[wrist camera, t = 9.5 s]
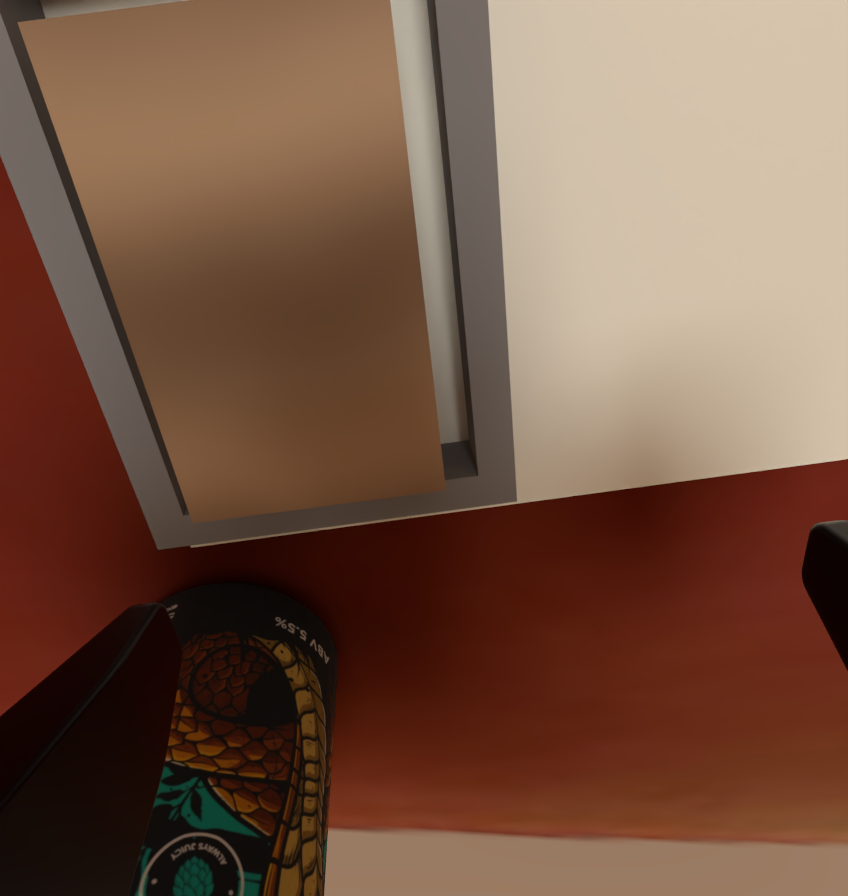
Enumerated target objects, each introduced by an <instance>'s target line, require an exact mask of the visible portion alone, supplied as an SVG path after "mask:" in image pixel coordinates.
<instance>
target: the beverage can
mask: <svg viewBox="0 0 848 896" xmlns="http://www.w3.org/2000/svg"><path fill="white" fill-rule="evenodd" d="M160 603H161V604H163V605H164V607H165V608H166V610H167V612H168V614H169V617H170V619H171V622H172V624H173V627H174V629H175V632H176V634H177V637H178V639H179V642H180V645H181V649H182V664H181V670H180V676H179V682H178V688H177V694H176V700H175V706H174V713H173V719H172V725H171V731H170V737H169V743H168V749H167V754H166V760H165V765H164V769H163V773H162V777H161V781H160V785H159V788H158V792H157V795H156V799H155V803H154V806H153V810H152V813H151V817H150V821H149V824H148V828H147V831H146V835H145V839H144V842H143V846H142V849H141V853H140V857H139V860H138V864H137V867H136V871H135V875H134V878H133V882H132V885H131V889H130V892H129V896H324V884H325V867H326V851H327V834H328V818H329V801H330V784H331V768H332V751H333V734H334V718H335V701H336V685H337V668H338V664H337V651H336V648H335V645H334V642H333V640H332V637H331V635H330V633H329V632H328V630H327V629H326V627H325V626H324V625H323V623H322V622H321V620H320V619H319V618H318V617H317V616H316V615H314V614H313V613H312V612H311V611H310V610H309V609H308V608H307V607H305V606H304V605H302V604H300V603H299V602H297V601H295V600H294V599H292V598H290V597H289V596H287V595H285V594H284V593H281V592H278V591H276V590H273V589H271V588H268V587H265V586H260V585H255V584H250V583H238V582H225V583H216V584H209V585H201V586H198V587H194V588H191V589H187V590H184V591H181V592H179V593H177V594H175V595H173V596H171V597H169V598H167V599H165V600H163V601H162V602H160Z"/></svg>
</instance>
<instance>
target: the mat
mask: <svg viewBox="0 0 848 896" xmlns="http://www.w3.org/2000/svg"><path fill="white" fill-rule="evenodd" d="M179 1H187V0H0V156H1V158H2V161H3V163H4V166H5V168H6V171H7V173H8V176H9V178H10V181H11V183H12V186H13V188H14V191H15V193H16V196H17V198H18V201H19V203H20V206H21V208H22V211H23V213H24V216H25V218H26V221H27V223H28V226H29V228H30V231H31V233H32V236H33V238H34V241H35V243H36V246H37V248H38V251H39V253H40V256H41V258H42V261H43V263H44V266H45V268H46V271H47V273H48V276H49V278H50V281H51V283H52V286H53V288H54V291H55V293H56V296H57V298H58V301H59V303H60V306H61V308H62V311H63V313H64V316H65V318H66V321H67V323H68V326H69V328H70V331H71V333H72V336H73V338H74V341H75V343H76V346H77V348H78V351H79V353H80V356H81V358H82V361H83V363H84V366H85V368H86V371H87V373H88V376H89V378H90V381H91V383H92V386H93V388H94V391H95V393H96V396H97V398H98V401H99V403H100V406H101V408H102V411H103V413H104V416H105V418H106V421H107V423H108V426H109V428H110V431H111V433H112V436H113V438H114V441H115V443H116V446H117V448H118V451H119V453H120V456H121V458H122V461H123V463H124V466H125V468H126V471H127V473H128V476H129V478H130V481H131V483H132V486H133V488H134V491H135V493H136V496H137V498H138V501H139V503H140V506H141V508H142V511H143V513H144V516H145V518H146V521H147V523H148V526H149V528H150V531H151V533H152V536H153V538H154V541H155V543H156V546H157V548H158V550H162V549H169V548H177V547H184V546H191V548H193V547H201V546H208V545H216V544H223V543H230V542H238V541H245V540H253V539H260V538H267V537H275V536H282V535H290V534H297V533H304V532H312V531H319V530H327V529H334V528H341V527H349V526H356V525H364V524H371V523H378V522H386V521H393V520H401V519H408V518H415V517H423V516H430V515H437V514H445V513H452V512H460V511H467V510H474V509H482V508H489V507H497V506H504V505H511V504H519V503H526V502H534V501H541V500H548V499H556V498H563V497H571V496H578V495H585V494H593V493H600V492H608V491H615V490H622V489H630V488H637V487H645V486H652V485H659V484H667V483H674V482H682V481H689V480H696V479H704V478H711V477H719V476H726V475H733V474H741V473H748V472H756V471H763V470H770V469H778V468H785V467H792V466H800V465H807V464H815V463H822V462H829V461H837V460H844V459H848V0H390V3H391V12H392V21H393V29H394V38H395V47H396V56H397V65H398V73H399V82H400V91H401V100H402V108H403V117H404V126H405V135H406V144H407V152H408V161H409V170H410V179H411V188H412V196H413V205H414V214H415V223H416V231H417V240H418V249H419V258H420V267H421V275H422V284H423V293H424V302H425V310H426V319H427V328H428V337H429V346H430V354H431V363H432V372H433V381H434V390H435V398H436V407H437V416H438V425H439V433H440V442H441V451H442V460H443V469H444V477H445V486H446V490H445V491H437V492H430V493H422V494H414V495H406V496H399V497H391V498H383V499H376V500H368V501H360V502H353V503H345V504H337V505H330V506H322V507H314V508H306V509H299V510H291V511H283V512H276V513H268V514H260V515H253V516H245V517H237V518H230V519H222V520H214V521H207V522H199V523H192V520H191V517H190V514H189V511H188V508H187V506H186V503H185V500H184V497H183V494H182V491H181V488H180V486H179V483H178V480H177V477H176V474H175V471H174V468H173V466H172V463H171V460H170V457H169V454H168V451H167V448H166V446H165V443H164V440H163V437H162V434H161V431H160V428H159V426H158V423H157V420H156V417H155V414H154V411H153V408H152V406H151V403H150V400H149V397H148V394H147V391H146V388H145V386H144V383H143V380H142V377H141V374H140V371H139V368H138V366H137V363H136V360H135V357H134V354H133V351H132V348H131V346H130V343H129V340H128V337H127V334H126V331H125V328H124V326H123V323H122V320H121V317H120V314H119V311H118V308H117V306H116V303H115V300H114V297H113V294H112V291H111V288H110V286H109V283H108V280H107V277H106V274H105V271H104V268H103V266H102V263H101V260H100V257H99V254H98V251H97V248H96V246H95V243H94V240H93V237H92V234H91V231H90V228H89V226H88V223H87V220H86V217H85V214H84V211H83V208H82V206H81V203H80V200H79V197H78V194H77V191H76V188H75V186H74V183H73V180H72V177H71V174H70V171H69V168H68V166H67V163H66V160H65V157H64V154H63V151H62V148H61V146H60V143H59V140H58V137H57V134H56V131H55V128H54V126H53V123H52V120H51V117H50V114H49V111H48V108H47V106H46V103H45V100H44V97H43V94H42V91H41V88H40V86H39V83H38V80H37V77H36V74H35V71H34V68H33V66H32V63H31V60H30V57H29V54H28V51H27V48H26V46H25V43H24V40H23V37H22V34H21V31H20V28H19V26H18V23H17V22H23V21H31V20H38V19H46V18H54V17H62V16H70V15H77V14H85V13H93V12H101V11H109V10H116V9H124V8H132V7H140V6H148V5H155V4H163V3H171V2H179Z"/></svg>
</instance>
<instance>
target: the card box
mask: <svg viewBox="0 0 848 896" xmlns="http://www.w3.org/2000/svg"><path fill="white" fill-rule="evenodd" d="M17 23H18V26H19V28H20V31H21V34H22V37H23V40H24V43H25V46H26V48H27V51H28V54H29V57H30V60H31V63H32V66H33V68H34V71H35V74H36V77H37V80H38V83H39V86H40V88H41V91H42V94H43V97H44V100H45V103H46V106H47V108H48V111H49V114H50V117H51V120H52V123H53V126H54V128H55V131H56V134H57V137H58V140H59V143H60V146H61V148H62V151H63V154H64V157H65V160H66V163H67V166H68V168H69V171H70V174H71V177H72V180H73V183H74V186H75V188H76V191H77V194H78V197H79V200H80V203H81V206H82V208H83V211H84V214H85V217H86V220H87V223H88V226H89V228H90V231H91V234H92V237H93V240H94V243H95V246H96V248H97V251H98V254H99V257H100V260H101V263H102V266H103V268H104V271H105V274H106V277H107V280H108V283H109V286H110V288H111V291H112V294H113V297H114V300H115V303H116V306H117V308H118V311H119V314H120V317H121V320H122V323H123V326H124V328H125V331H126V334H127V337H128V340H129V343H130V346H131V348H132V351H133V354H134V357H135V360H136V363H137V366H138V368H139V371H140V374H141V377H142V380H143V383H144V386H145V388H146V391H147V394H148V397H149V400H150V403H151V406H152V408H153V411H154V414H155V417H156V420H157V423H158V426H159V428H160V431H161V434H162V437H163V440H164V443H165V446H166V448H167V451H168V454H169V457H170V460H171V463H172V466H173V468H174V471H175V474H176V477H177V480H178V483H179V486H180V488H181V491H182V494H183V497H184V500H185V503H186V506H187V508H188V511H189V514H190V517H191V520H192V523H199V522H207V521H214V520H222V519H230V518H237V517H245V516H253V515H260V514H268V513H276V512H283V511H291V510H299V509H306V508H314V507H322V506H330V505H337V504H345V503H353V502H360V501H368V500H376V499H383V498H391V497H399V496H406V495H414V494H422V493H430V492H437V491H445V490H446V486H445V477H444V469H443V460H442V451H441V442H440V433H439V425H438V416H437V407H436V398H435V390H434V381H433V372H432V363H431V354H430V346H429V337H428V328H427V319H426V310H425V302H424V293H423V284H422V275H421V267H420V258H419V249H418V240H417V231H416V223H415V214H414V205H413V196H412V188H411V179H410V170H409V161H408V152H407V144H406V135H405V126H404V117H403V108H402V100H401V91H400V82H399V73H398V65H397V56H396V47H395V38H394V29H393V21H392V12H391V3H390V0H187V1H179V2H171V3H163V4H155V5H148V6H140V7H132V8H124V9H116V10H109V11H101V12H93V13H85V14H77V15H70V16H62V17H54V18H46V19H38V20H31V21H23V22H17Z"/></svg>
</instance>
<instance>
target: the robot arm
mask: <svg viewBox="0 0 848 896" xmlns="http://www.w3.org/2000/svg"><path fill="white" fill-rule="evenodd" d="M802 579H803V583H804V586H805V589H806V591H807V593H808V595H809V597H810V599H811V601H812V602H813V604H814V606H815V608H816V610H817V612H818V614H819V616H820V618H821V620H822V622H823V624H824V626H825V628H826V630H827V632H828V634H829V636H830V638H831V640H832V641H833V643H834V645H835V647H836V649H837V651H838V653H839V655H840V657H841V659H842V661H843V663H844V665H845V667H846V669H847V671H848V521H845V520H839V521H831V522H823V523H818V524H816V525H814V526H813V527H812V528H811V530H810V533H809V537H808V542H807V547H806V552H805V557H804V562H803V567H802ZM181 664H182V649H181V645H180V642H179V639H178V637H177V634H176V632H175V629H174V627H173V624H172V622H171V619H170V617H169V614H168V612H167V610H166V608H165V607H164V605H163V604H161V603H157V602H155V603H147V604H139V605H133V606H131V607H129V608H128V609H126V610H125V611H124V612H123V613H122V614H121V615H119V616H118V617H117V618H116V619H115V620H113V621H112V622H111V623H110V624H109V625H108V626H106V627H105V628H104V629H103V630H102V631H100V632H99V633H98V634H97V635H96V636H95V637H93V638H92V639H91V640H90V641H89V642H88V643H86V644H85V645H84V646H83V647H82V648H80V649H79V650H78V651H77V652H76V653H75V654H73V655H72V656H71V657H70V658H69V659H67V660H66V661H65V662H64V663H63V664H62V665H60V666H59V667H58V668H57V669H56V670H54V671H53V672H52V673H51V674H50V675H49V676H47V677H46V678H45V679H44V680H43V681H42V682H40V683H39V684H38V685H37V686H36V687H34V688H33V689H32V690H31V691H30V692H29V693H27V694H26V695H25V696H24V697H23V698H21V699H20V700H19V701H18V702H17V703H16V704H14V705H13V706H12V707H11V708H10V709H8V710H7V711H6V712H5V713H4V714H3V715H1V716H0V896H129V892H130V889H131V885H132V882H133V878H134V875H135V871H136V867H137V864H138V860H139V857H140V853H141V849H142V846H143V842H144V839H145V835H146V831H147V828H148V824H149V821H150V817H151V813H152V810H153V806H154V803H155V799H156V795H157V792H158V788H159V785H160V781H161V777H162V773H163V769H164V765H165V760H166V754H167V749H168V743H169V737H170V731H171V725H172V719H173V713H174V706H175V700H176V694H177V688H178V682H179V676H180V670H181Z"/></svg>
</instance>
